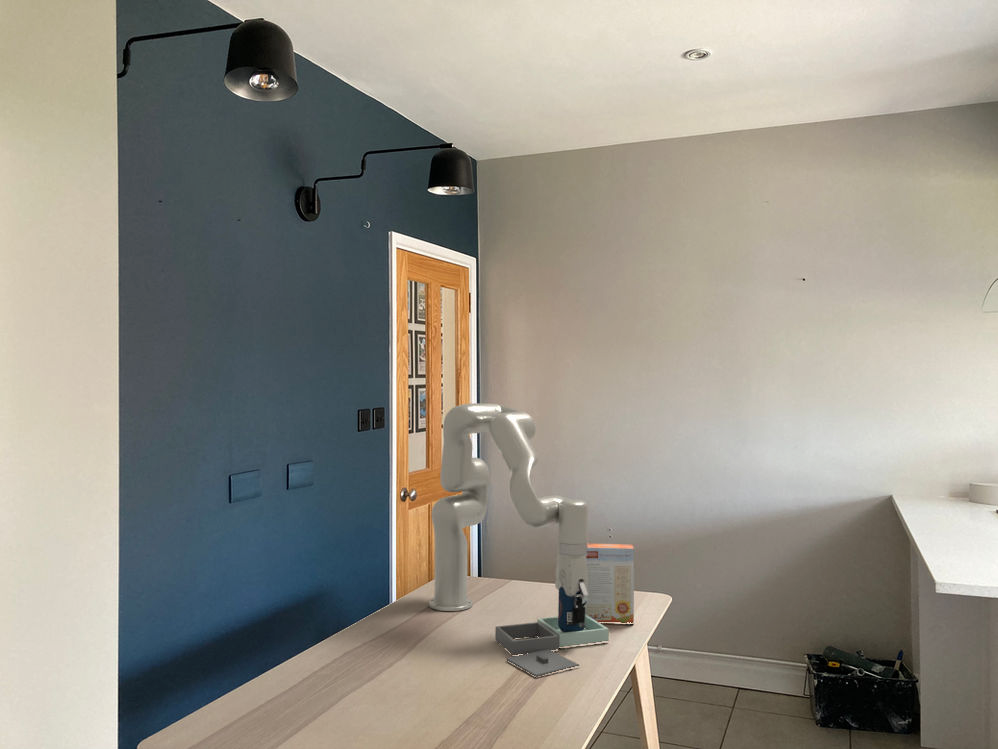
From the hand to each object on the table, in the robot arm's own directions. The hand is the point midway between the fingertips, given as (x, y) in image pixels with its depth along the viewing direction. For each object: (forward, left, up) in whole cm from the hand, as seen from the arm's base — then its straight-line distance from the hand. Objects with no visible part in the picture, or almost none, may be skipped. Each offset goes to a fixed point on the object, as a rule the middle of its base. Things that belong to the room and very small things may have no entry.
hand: (571, 617), depth 202 cm
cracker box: (-9, +15, -5) cm, 18 cm away
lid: (+15, -15, -5) cm, 22 cm away
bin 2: (0, 0, -5) cm, 5 cm away
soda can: (0, 0, -4) cm, 4 cm away
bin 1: (+2, -13, -5) cm, 14 cm away
